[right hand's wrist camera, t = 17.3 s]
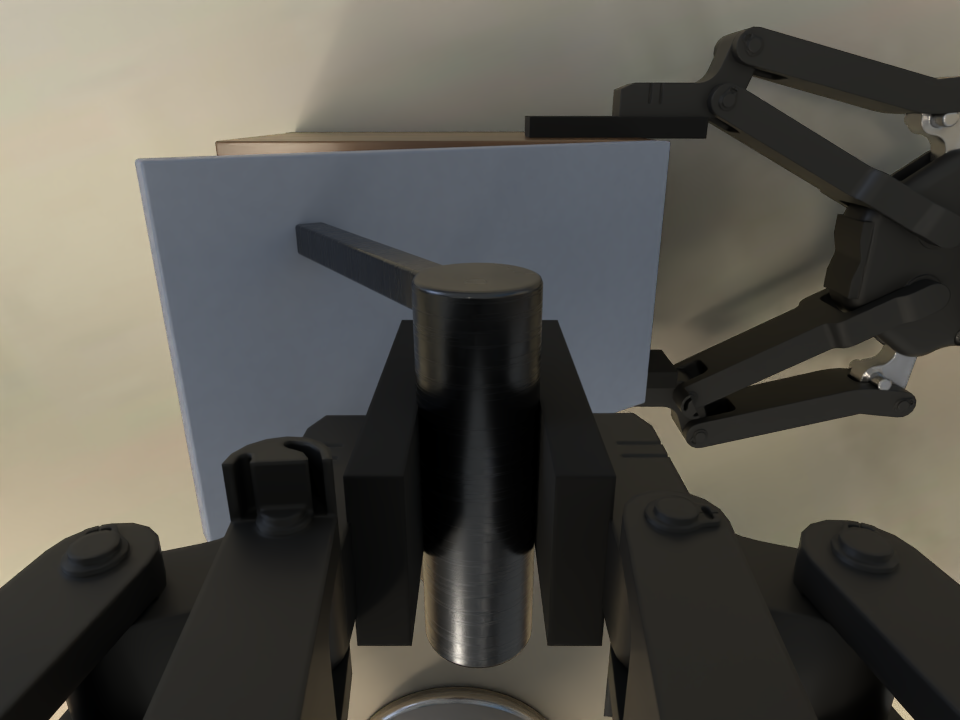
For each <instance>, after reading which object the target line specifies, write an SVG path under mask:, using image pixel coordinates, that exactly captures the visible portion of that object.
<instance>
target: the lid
mask: <svg viewBox="0 0 960 720" xmlns="http://www.w3.org/2000/svg"><path fill="white" fill-rule="evenodd" d="M669 152H670V142H669V141H654V140H650V141H622V142H594V143H565V144H537V145H509V146H481V147H453V148H425V149H396V150H368V151H340V152H312V153H284V154H255V155H227V156H199V157H171V158H143V159H137V160H136V161H135V165H136V171H137V176H138V181H139V187H140V192H141V198H142V203H143V208H144V214H145V219H146V225H147V230H148V235H149V241H150V246H151V252H152V257H153V262H154V268H155V273H156V279H157V284H158V289H159V295H160V300H161V306H162V311H163V316H164V322H165V327H166V333H167V338H168V343H169V349H170V354H171V360H172V365H173V370H174V376H175V381H176V387H177V392H178V397H179V403H180V408H181V414H182V419H183V424H184V430H185V435H186V441H187V446H188V451H189V457H190V462H191V468H192V473H193V478H194V484H195V489H196V495H197V500H198V505H199V511H200V516H201V522H202V527H203V532H204V535H205V537H206V540H207V542H209V541H213V540H217V539H220V538H222V537H224V536H225V534H226V531H227V529H228V527H229V525H230V522H231V520H230V514H229V508H228V502H227V496H226V489H225V483H224V477H223V471H222V465H221V464H222V463H223V462H224V461H225V460H226V459H227V458H228V457H229V455H230V454H232V453H233V452H235V451H237V450H239V449H241V448H242V447H244V446H246V445H249V444H252V443H255V442H258V441H262V440H265V439H270V438H278V437H286V436H291V437H303V435H304V434H305V432H306V430H307V428H309V427H310V426H311V425H313V424H314V423H316V422H317V421H319V420H320V419H321V418H323V417H324V416H326V415H366V414H367V411H368V408H369V406H370V403H371V400H372V398H373V395H374V392H375V390H376V387H377V384H378V382H379V379H380V376H381V374H382V371H383V368H384V366H385V363H386V360H387V358H388V355H389V352H390V350H391V347H392V345H393V342H394V339H395V337H396V334H397V331H398V329H399V326H400V323H401V321H402V320H413V333H414V358H415V382H416V402H417V405H418V417H419V443H420V469H421V495H422V521H423V547H424V553H423V561H422V568H421V576H420V578H421V580H422V581H423V582H424V602H425V627H426V634H427V638H428V640H429V642H430V644H431V645H432V647H433V648H434V650H435V651H436V652H437V653H438V654H439V655H441V656H442V657H443V658H445V659H446V660H448V661H450V662H452V663H454V664H457V665H460V666H464V667H470V668H486V667H492V666H497V665H500V664H503V663H505V662H507V661H509V660H511V659H512V658H514V657H515V656H516V655H518V654H519V653H520V652H521V651H522V650H523V648H524V647H525V645H526V644H527V642H528V640H529V638H530V635H531V629H532V602H533V573H534V544H535V514H536V485H537V456H538V426H539V397H540V368H541V338H542V320H558V322H559V325H560V328H561V330H562V333H563V336H564V338H565V341H566V343H567V346H568V349H569V351H570V354H571V357H572V359H573V362H574V365H575V367H576V370H577V373H578V375H579V378H580V381H581V383H582V386H583V389H584V391H585V394H586V397H587V399H588V402H589V405H590V407H591V410H592V413H615V412H618V411H621V410H624V409H627V408H630V407H633V406H636V405H639V404H642V403H644V402H645V396H646V386H647V376H648V365H649V355H650V345H651V335H652V325H653V315H654V305H655V294H656V284H657V274H658V264H659V254H660V244H661V233H662V223H663V213H664V203H665V193H666V183H667V172H668V162H669Z"/></svg>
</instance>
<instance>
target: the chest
mask: <svg viewBox="0 0 960 720" xmlns="http://www.w3.org/2000/svg"><path fill="white" fill-rule="evenodd" d="M650 140H652V139H645V138H529V137H527V136H525V132H290V133H284V134H275V135H267V136H258V137H249V138H240V139H231V140H222V141H216V143H215V144H216V151H217V156H227V155H255V154H284V153H312V152H340V151H368V150H396V149H425V148H453V147H481V146H509V145H537V144H565V143H594V142H622V141H650ZM654 141H657V140H654Z"/></svg>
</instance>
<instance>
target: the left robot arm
mask: <svg viewBox="0 0 960 720" xmlns="http://www.w3.org/2000/svg"><path fill="white" fill-rule="evenodd" d="M752 76H753V77H757V78H760V79H764V80H767V81H771V82H774V83H778V84H781V85H785V86H789V87H792V88H796V89H799V90H803V91H806V92H810V93H813V94H817V95H820V96H824V97H827V98H831V99H834V100H838V101H841V102H845V103H848V104H852V105H855V106H859V107H862V108H866V109H869V110H873V111H877V112H882V113H892V114H906V115H905V117H904V122H905V124H906V125H908V128H909V130H910V131H911V132H912V133H914V134H918V135H923V136H925V137H927V139H928V140H929V141H930V145H931V150H930V151H928V152H926V153H924V154H923V155H921V156H920V157H918V158H917V159H915V160H913V161H912V162H910V163H909V164H907V165H906V166H904V167H903V168H901V169H899V170H898V171H896V172H895V173H893V174H892V175H888V174H886V173H884V172H882V171H879V170H877V169H874V168H872V167H870V166H868V165H867V164H865V163H863V162H862V161H860V160H859V159H857V158H855V157H854V156H852V155H850V154H849V153H847V152H846V151H844V150H842V149H841V148H839V147H838V146H836V145H834V144H833V143H831V142H829V141H828V140H826V139H825V138H823V137H821V136H820V135H818V134H817V133H815V132H813V131H812V130H810V129H808V128H807V127H805V126H804V125H802V124H800V123H799V122H797V121H796V120H794V119H792V118H791V117H789V116H788V115H786V114H784V113H783V112H781V111H779V110H778V109H776V108H775V107H773V106H771V105H770V104H768V103H767V102H765V101H763V100H762V99H760V98H758V97H757V96H755V95H754V94H752V93H750V92H749V91H747V90H746V88H747V86H748V84H749V82H750V80H751V77H752ZM708 122H709V123H711V124H712V125H714V126H716V127H717V128H719V129H720V130H722V131H724V132H725V133H727V134H729V135H730V136H732V137H734V138H735V139H737V140H739V141H740V142H742V143H744V144H745V145H747V146H749V147H750V148H752V149H754V150H755V151H757V152H759V153H760V154H762V155H764V156H765V157H767V158H769V159H770V160H772V161H774V162H775V163H777V164H779V165H780V166H782V167H784V168H785V169H787V170H789V171H790V172H792V173H794V174H795V175H797V176H799V177H800V178H802V179H804V180H805V181H807V182H809V183H810V184H812V185H813V186H815V187H817V188H818V189H820V191H821V192H822V193H823V194H825V195H827V196H828V197H830V198H832V199H833V200H835V201H837V202H838V203H840V204H842V205H843V206H845V207H846V208H847V209H846V211H845V213H844V214H838V215H837V220H836V225H835V231H834V238H835V253H834V255H833V257H832V259H831V262H830V264H829V266H828V268H827V271H826V277H825V282H824V287H826V289H824V290H822V291H820V292H817V293H815V294H813V295H811V296H809V297H807V298H805V299H803V300H802V301H801V302H800V303H799V306H798V307H797V308H795V309H793V310H790V311H788V312H786V313H784V314H782V315H780V316H778V317H775V318H773V319H771V320H769V321H767V322H765V323H762V324H760V325H758V326H756V327H754V328H752V329H750V330H747V331H745V332H743V333H741V334H739V335H737V336H735V337H732V338H730V339H728V340H726V341H724V342H722V343H719V344H717V345H715V346H713V347H711V348H709V349H707V350H704V351H702V352H700V353H698V354H696V355H694V356H691V357H689V358H687V359H685V360H683V361H681V362H679V363H676V364H674V365H673V364H672V363H671V362H670V360H669V359H668V358H667V356H666V355H665V354H664V352H663V351H662V350H650V355H649V365H648V376H647V386H646V396H645V402H644V403H642V404H639V405H636V406H633V407H668V408H671V416H672V418H673V420H674V422H675V423H676V425H677V427H678V428H679V430H680V431H681V433H682V435H683V436H684V438H685V439H686V441H687V443H688V444H689V445H690V446H692V447H695V448H702V447H707V446H712V445H716V444H721V443H726V442H730V441H735V440H740V439H744V438H749V437H754V436H758V435H763V434H768V433H772V432H777V431H782V430H786V429H791V428H796V427H800V426H805V425H809V424H814V423H819V422H823V421H828V420H833V419H837V418H842V417H847V416H851V415H856V414H868V415H879V416H889V417H904V416H906V415H908V414H909V413H911V412H912V411H913V409H914V408H915V406H916V399H915V396H914V395H913V394H911V393H910V392H908V391H907V390H905V388H906V385H907V382H908V380H909V377H910V374H911V372H912V369H913V366H914V364H915V361H916V358H917V357H919V356H923V355H927V354H929V353H931V352H933V351H935V350H938V349H940V348H943V347H947V346H960V76H953V77H940V78H933V77H929V76H926V75H922V74H919V73H916V72H912V71H909V70H905V69H902V68H899V67H895V66H892V65H888V64H885V63H881V62H878V61H875V60H871V59H868V58H864V57H861V56H857V55H854V54H851V53H847V52H844V51H840V50H837V49H834V48H830V47H827V46H823V45H820V44H816V43H813V42H810V41H806V40H803V39H799V38H796V37H792V36H789V35H786V34H782V33H779V32H775V31H772V30H768V29H765V28H762V27H751V28H748V29H745V30H741V31H738V32H735V33H732V34H729V35H726V36H724V37H722V38H721V39H720V40H719V41H718V42H717V44H716V46H715V49H714V58H713V61H712V63H711V65H710V67H709V70H708V71H707V73H706V75H705V76H704V77H703V78H702V79H701V80H699V81H698V82H695V83H632V84H627V85H624V86H622V87H620V88H617V89H615V90H614V97H613V112H612V116H525V136H527V137H529V138H702V139H706V135H707V127H708ZM872 337H874V338H875V339H877V340H878V341H879V342H880V343H882V344H883V345H884V346H883V348H882V350H881V351H880V352H879V354H877V355H876V356H874V357H872V358H867V359H862V360H858V359H855V360H853V361H852V362H850V364H849V369H848V368H835V369H826V370H820V371H815V372H811V373H806V374H802V375H797V376H793V377H788V378H784V379H779V380H775V381H770V382H766V383H761V384H757V385H752V384H754V383H756V382H759V381H761V380H763V379H765V378H767V377H770V376H772V375H774V374H776V373H779V372H781V371H783V370H785V369H787V368H790V367H792V366H794V365H796V364H799V363H801V362H803V361H805V360H808V359H810V358H812V357H814V356H816V355H819V354H821V353H823V352H825V351H828V350H830V349H833V348H848V347H851V346H854V345H857V344H859V343H861V342H863V341H865V340H868V339H870V338H872ZM750 385H752V386H750ZM747 386H748V387H747ZM369 720H546V719H545V718H544V717H543V716H541V715H540V714H539V713H538V712H537V711H535V710H534V709H532V708H531V707H529V706H528V705H526V704H524V703H523V702H521V701H519V700H517V699H514V698H512V697H510V696H507V695H504V694H502V693H498V692H495V691H491V690H486V689H481V688H473V687H441V688H433V689H428V690H423V691H419V692H416V693H412V694H410V695H407V696H404V697H402V698H400V699H398V700H395V701H394V702H392V703H390V704H388V705H387V706H385V707H384V708H382V709H381V710H379V711H378V712H377V713H376V714H375V715H373V716H372V717H371V718H370V719H369Z"/></svg>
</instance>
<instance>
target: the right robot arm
mask: <svg viewBox="0 0 960 720" xmlns="http://www.w3.org/2000/svg"><path fill="white" fill-rule="evenodd" d="M221 465H222V471H223V477H224V483H225V489H226V496H227V502H228V508H229V514H230V520H231V522H230V525H229V527H228V529H227V531H226V534H225V536H224V537H222V538H220V539H217V540H213V541H209V542H206V543H202V544H197V545H192V546H187V547H182V548H177V549H172V550H167V551H161V546H160V542H159V537H158V535H157V534H156V533H155V532H154V531H153V530H152V529H151V528H150V527H147V526H143V525H139V524H135V523H115V524H105V525H101V526H96V527H92V528H88V529H86V530H84V531H82V532H80V533H77V534H75V535H72V536H70V537H68V538H65V539H64V540H62V541H61V542H59V543H57V544H56V545H54V546H53V547H51V548H50V549H48V550H47V551H45V552H44V553H43V554H41V555H40V556H39V557H38V558H37V559H35V560H34V561H33V562H32V563H30V564H29V565H28V566H27V567H26V568H24V569H23V570H22V571H21V572H20V573H18V574H17V575H16V576H15V577H13V578H12V579H11V580H10V581H9V582H7V583H6V584H5V585H4V586H2V587H1V588H0V720H49V719H50V718H51V717H52V716H53V714H54V713H55V712H56V711H57V710H58V709H59V708H60V706H61V705H62V704H63V703H64V702H65V701H66V702H67V705H68V710H67V711H66V712H65V713H64V714H63V715H62V716H61V718H60V719H59V720H347V718H348V708H349V699H350V690H351V681H352V666H351V655H350V644H349V643H350V638H351V634H352V630H353V626H354V622H356V633H357V645H358V646H412V639H413V631H414V623H415V616H416V608H417V600H418V592H419V584H420V576H421V568H422V561H423V553H424V547H423V521H422V495H421V469H420V443H419V417H418V405H417V402H416V382H415V358H414V333H413V320H402V321H401V323H400V326H399V329H398V331H397V334H396V337H395V339H394V342H393V345H392V347H391V350H390V352H389V355H388V358H387V360H386V363H385V366H384V368H383V371H382V374H381V376H380V379H379V382H378V384H377V387H376V390H375V392H374V395H373V398H372V400H371V403H370V406H369V408H368V411H367V414H366V415H326V416H324V417H323V418H321V419H320V420H319V421H317V422H316V423H314V424H313V425H311V426H310V427H309V428H307V430H306V432H305V434H304V435H303V437H291V436H286V437H278V438H270V439H265V440H262V441H258V442H255V443H252V444H249V445H246V446H244V447H242V448H241V449H239V450H237V451H235V452H233V453H232V454H230V455H229V457H228V458H227V459H226V460H225V461H224V462H223V463H222V464H221ZM535 550H536V558H537V565H538V573H539V581H540V589H541V597H542V605H543V613H544V621H545V629H546V636H547V644H548V646H602V637H603V626H604V618H605V622H606V626H607V630H608V634H609V638H610V642H611V644H610V655H609V666H608V677H607V688H606V698H605V709H604V716H608V717H613V720H904V719H903V718H902V717H901V716H900V715H899V714H898V713H897V711H896V710H895V709H894V708H893V707H892V702H893V699H894V697H895V698H896V699H897V700H898V702H899V703H900V704H901V705H902V706H903V707H904V708H905V710H906V711H907V712H908V713H909V714H910V715H911V716H912V717H913V719H914V720H960V585H959V584H958V583H957V582H956V581H954V580H953V579H952V578H951V577H950V576H948V575H947V574H946V573H945V572H943V571H942V570H941V569H940V568H938V567H937V566H936V565H935V564H934V563H932V562H931V561H930V560H929V559H927V558H926V557H925V556H924V555H922V554H921V553H920V552H919V551H918V550H916V549H915V548H914V547H912V546H911V545H909V544H907V543H906V542H904V541H903V540H901V539H900V538H898V537H897V536H895V535H893V534H890V533H888V532H885V531H883V530H880V529H878V528H876V527H875V526H872V525H868V524H865V523H858V522H855V521H848V520H824V521H820V522H816V523H813V524H810V525H809V526H808V527H807V528H806V529H805V530H804V531H803V532H802V533H801V538H800V543H799V547H798V549H797V548H792V547H787V546H782V545H777V544H772V543H767V542H761V541H757V540H753V539H749V538H746V537H742V536H739V535H737V534H735V533H734V530H733V528H732V526H731V524H730V521H729V520H728V519H727V517H726V516H725V515H724V514H723V512H722V511H721V510H720V509H719V508H717V507H716V506H714V505H713V504H711V503H710V502H708V501H707V500H705V499H702V498H699V497H697V496H694V495H691V494H689V492H688V490H687V488H686V487H685V485H684V483H683V481H682V479H681V477H680V476H679V474H678V472H677V470H676V468H675V467H674V465H673V463H672V461H671V459H670V457H668V454H667V452H666V450H665V448H664V447H663V445H662V444H661V441H660V439H659V438H658V436H657V434H656V432H655V430H654V428H653V427H652V426H651V425H650V424H648V423H647V422H646V421H644V420H643V419H641V418H640V417H638V416H637V415H635V414H634V413H592V410H591V407H590V405H589V402H588V399H587V397H586V394H585V391H584V389H583V386H582V383H581V381H580V378H579V375H578V373H577V370H576V367H575V365H574V362H573V359H572V357H571V354H570V351H569V349H568V346H567V343H566V341H565V338H564V336H563V333H562V330H561V328H560V325H559V322H558V320H542V338H541V368H540V397H539V426H538V456H537V485H536V514H535Z"/></svg>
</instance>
